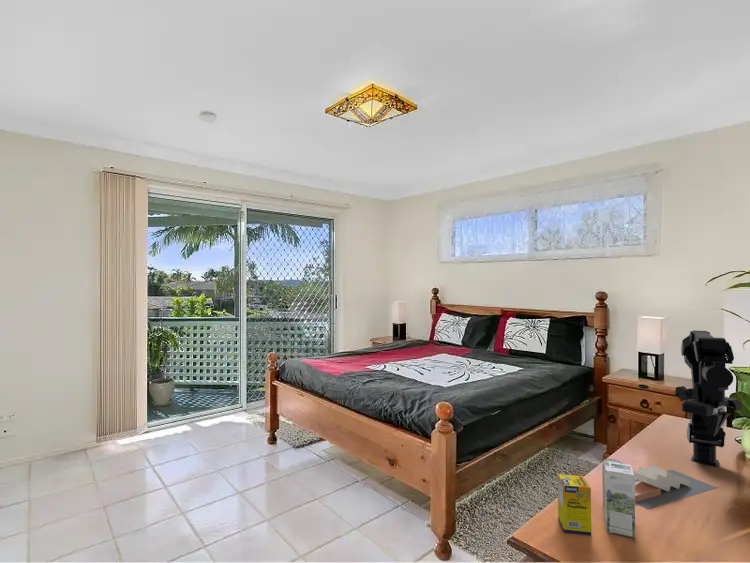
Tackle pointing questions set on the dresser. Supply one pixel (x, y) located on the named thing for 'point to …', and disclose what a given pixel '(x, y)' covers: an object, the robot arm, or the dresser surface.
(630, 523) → the syrup box
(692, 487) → the domino mat
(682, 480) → the domino
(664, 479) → the domino
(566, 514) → the supplement box
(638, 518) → the dresser surface
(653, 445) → the dresser surface
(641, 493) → the end domino
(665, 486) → the domino
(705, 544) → the dresser surface
